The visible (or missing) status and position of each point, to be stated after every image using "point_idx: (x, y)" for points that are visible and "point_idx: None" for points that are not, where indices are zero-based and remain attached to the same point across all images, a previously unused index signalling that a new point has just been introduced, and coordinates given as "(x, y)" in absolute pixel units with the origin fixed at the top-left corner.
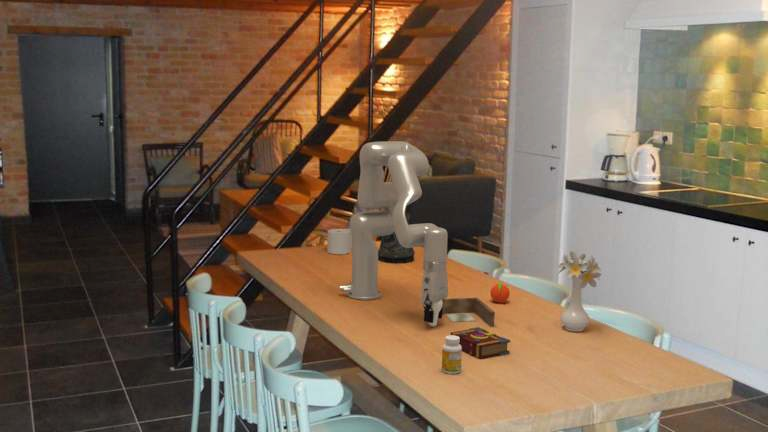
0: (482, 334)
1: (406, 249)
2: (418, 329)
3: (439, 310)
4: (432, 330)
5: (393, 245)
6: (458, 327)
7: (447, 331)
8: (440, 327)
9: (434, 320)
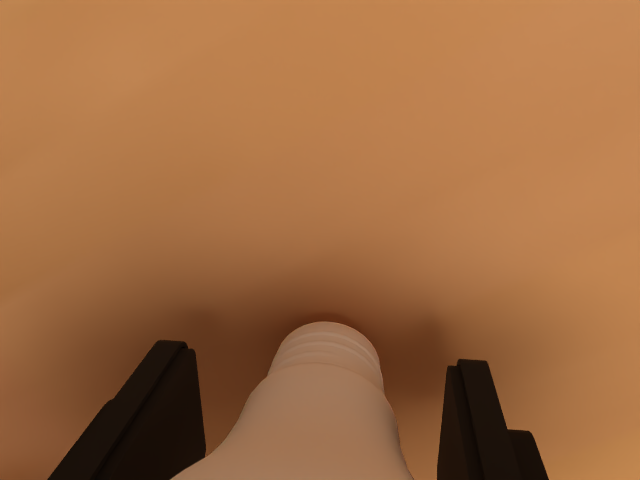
0: None
1: None
2: (538, 437)
3: (302, 446)
4: (484, 287)
5: None
6: (125, 47)
7: (409, 88)
8: (295, 259)
9: (361, 377)
